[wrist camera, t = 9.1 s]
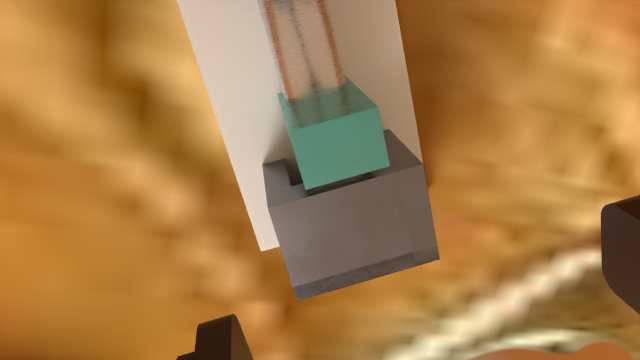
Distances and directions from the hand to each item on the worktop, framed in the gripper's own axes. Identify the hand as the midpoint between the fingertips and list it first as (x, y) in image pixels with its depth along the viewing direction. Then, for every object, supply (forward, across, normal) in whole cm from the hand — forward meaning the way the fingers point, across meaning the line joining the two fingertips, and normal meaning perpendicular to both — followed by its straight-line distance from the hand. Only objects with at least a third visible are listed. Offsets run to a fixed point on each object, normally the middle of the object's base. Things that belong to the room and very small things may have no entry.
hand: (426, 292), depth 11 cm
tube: (+16, 0, -1) cm, 17 cm away
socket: (+18, 0, +5) cm, 18 cm away
